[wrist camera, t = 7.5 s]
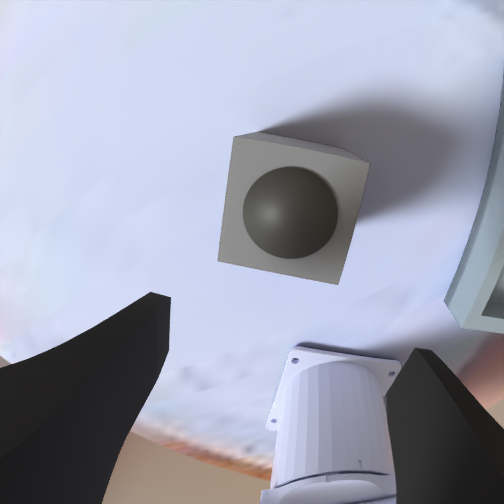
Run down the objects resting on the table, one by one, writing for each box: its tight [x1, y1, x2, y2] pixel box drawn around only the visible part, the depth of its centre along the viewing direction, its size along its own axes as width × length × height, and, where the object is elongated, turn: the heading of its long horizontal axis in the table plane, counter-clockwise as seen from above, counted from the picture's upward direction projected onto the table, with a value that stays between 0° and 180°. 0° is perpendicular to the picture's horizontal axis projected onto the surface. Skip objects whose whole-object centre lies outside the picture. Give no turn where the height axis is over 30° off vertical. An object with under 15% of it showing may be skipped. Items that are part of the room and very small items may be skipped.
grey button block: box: [218, 132, 370, 285], centre depth 13 cm, size 4×4×6 cm
